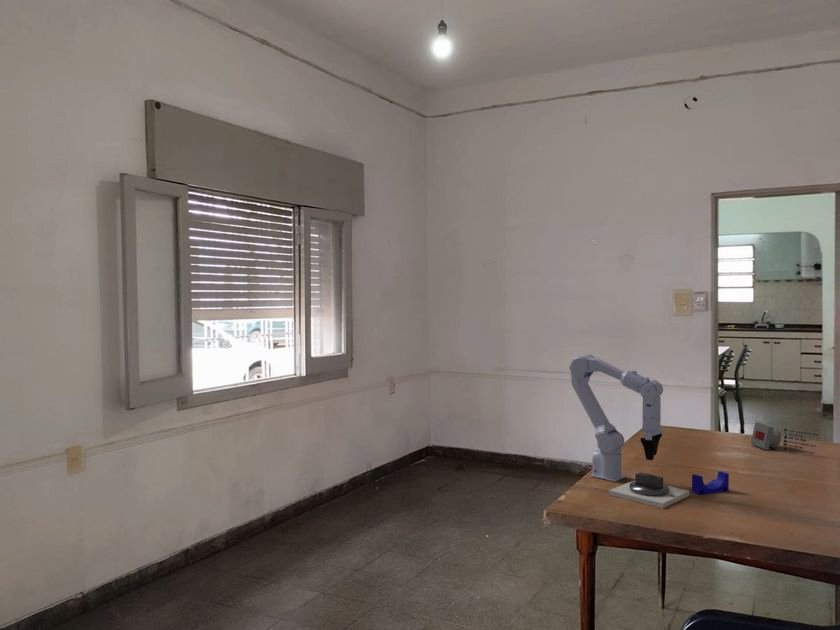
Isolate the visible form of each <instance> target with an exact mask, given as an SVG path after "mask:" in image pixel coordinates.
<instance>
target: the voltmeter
mask: <svg viewBox="0 0 840 630" xmlns="http://www.w3.org/2000/svg"><path fill="white" fill-rule="evenodd" d="M787 431H788V433H789V432H790V433H789V436H790V437H787V435H788V433H786V432H787ZM783 432H784V434H785V435H784V439H783V446H785V447H783V449H784V451H787V450H788V453H790V454H794V452H798V451H799V452H801V453H806V454H813V455H814V452H812V451H806V450H798V449H795V448H799V449H803V446H809V444H808V443H803V442H805V439H804V438H803V435H800V434H801V432H800V431H795V430H788V429H787V428H784V429H783ZM795 432H796V434H792V433H795ZM782 434H783V433H782V432H780V430H778V429H775V427H774V426H772V425H769V424H765V423H761V422H757V421H755V423H754V428H753V432H752V435H751V440H750V445H753V446H754V447H758V448H760V449H763V450H766V451H769V450H771V448H772V449H776V448H777V447H779V446H780V444H781V440H782ZM798 434H799V435H798ZM802 434H805V435H812V436H819V434H817V433H816V434H815V433H814V432H813V433H811V432H810V433H809V432H804V431H802ZM791 436H792V437H791ZM793 436H794V437H795V438H794V437H793ZM796 437H800V438H796ZM802 438H803V439H802ZM787 439H790V440H796V441H800V442H795V441H788V440H787ZM789 443H790V447H794V448H793V449H792V448H788V447H787V446H788V444H789ZM793 444H797V445H802V446H797V445H793ZM810 447H816V444H815V445H814V444H810ZM792 451H794V452H792Z"/></svg>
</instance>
